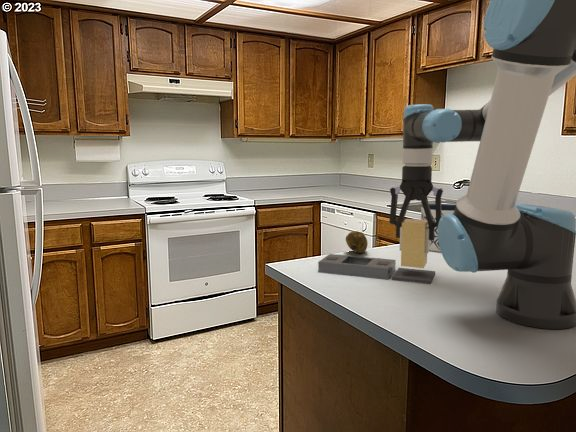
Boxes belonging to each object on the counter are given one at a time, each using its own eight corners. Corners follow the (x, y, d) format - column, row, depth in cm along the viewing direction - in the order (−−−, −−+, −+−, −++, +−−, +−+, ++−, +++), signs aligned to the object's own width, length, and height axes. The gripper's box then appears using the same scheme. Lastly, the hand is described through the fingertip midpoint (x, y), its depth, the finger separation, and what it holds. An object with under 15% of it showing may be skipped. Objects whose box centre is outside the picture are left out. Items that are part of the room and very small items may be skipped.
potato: (373, 250, 155) (374, 227, 154) (363, 258, 144) (364, 234, 142) (350, 248, 159) (350, 225, 157) (339, 256, 147) (339, 232, 146)
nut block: (423, 268, 119) (425, 223, 117) (400, 266, 121) (402, 222, 119) (426, 262, 124) (428, 219, 122) (404, 260, 127) (406, 218, 125)
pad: (430, 284, 117) (430, 281, 116) (391, 279, 121) (391, 276, 121) (435, 273, 125) (435, 271, 125) (398, 270, 130) (398, 267, 130)
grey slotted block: (395, 269, 130) (395, 259, 130) (387, 279, 121) (388, 268, 121) (329, 263, 138) (329, 253, 138) (318, 271, 129) (318, 261, 129)
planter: (446, 241, 167) (448, 203, 164) (478, 250, 152) (481, 208, 150) (410, 245, 161) (411, 205, 159) (440, 255, 146) (442, 211, 144)
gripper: (456, 164, 118) (452, 250, 121) (384, 164, 126) (382, 245, 129) (454, 166, 111) (450, 257, 115) (377, 165, 119) (376, 250, 123)
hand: (414, 250), depth 122 cm, fingers closed on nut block, 6 cm apart
